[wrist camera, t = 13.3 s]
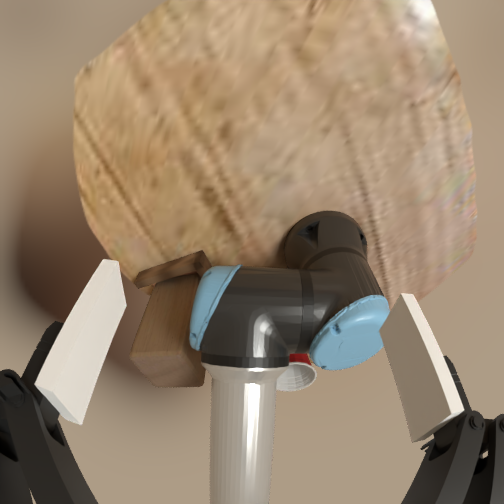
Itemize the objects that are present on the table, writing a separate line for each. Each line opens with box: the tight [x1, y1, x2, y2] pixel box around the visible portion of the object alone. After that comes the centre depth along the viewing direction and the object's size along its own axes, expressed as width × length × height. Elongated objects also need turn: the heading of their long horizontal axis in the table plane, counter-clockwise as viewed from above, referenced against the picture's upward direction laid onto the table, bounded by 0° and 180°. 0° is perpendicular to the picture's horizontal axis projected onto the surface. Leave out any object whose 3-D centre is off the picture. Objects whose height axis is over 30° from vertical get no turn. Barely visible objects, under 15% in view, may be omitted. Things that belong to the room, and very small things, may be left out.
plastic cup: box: [276, 354, 317, 391], centre depth 62 cm, size 11×11×12 cm
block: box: [130, 273, 206, 387], centre depth 51 cm, size 10×10×20 cm
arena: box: [134, 250, 212, 289], centre depth 57 cm, size 15×15×4 cm
